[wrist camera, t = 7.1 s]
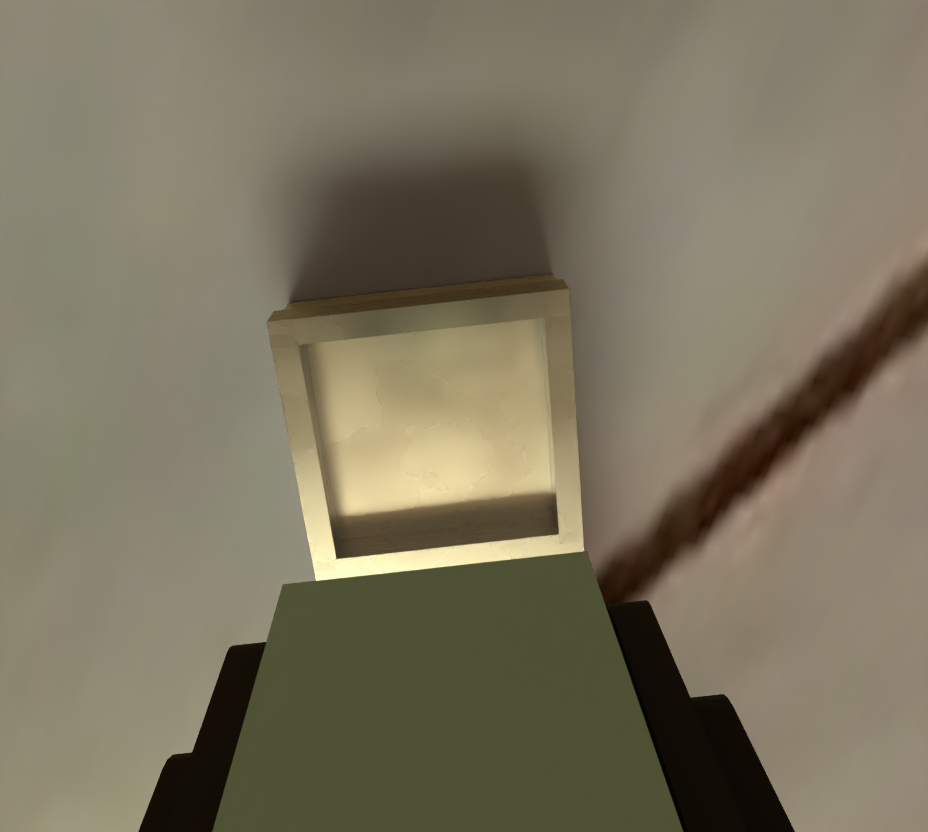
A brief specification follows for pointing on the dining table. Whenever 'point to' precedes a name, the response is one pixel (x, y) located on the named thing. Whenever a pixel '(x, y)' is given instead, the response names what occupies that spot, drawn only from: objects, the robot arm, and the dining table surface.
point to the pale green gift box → (446, 709)
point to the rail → (432, 424)
